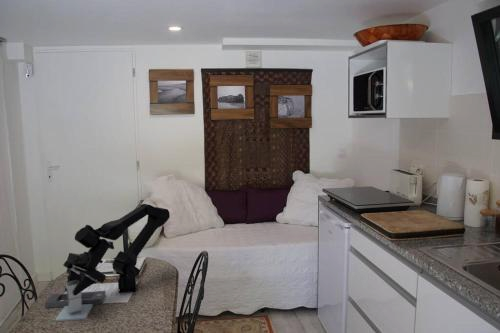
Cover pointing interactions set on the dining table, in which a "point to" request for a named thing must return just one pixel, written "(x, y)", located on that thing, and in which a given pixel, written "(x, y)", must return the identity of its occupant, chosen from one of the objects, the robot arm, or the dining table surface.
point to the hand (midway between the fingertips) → (69, 293)
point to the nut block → (73, 297)
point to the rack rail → (86, 298)
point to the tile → (74, 313)
